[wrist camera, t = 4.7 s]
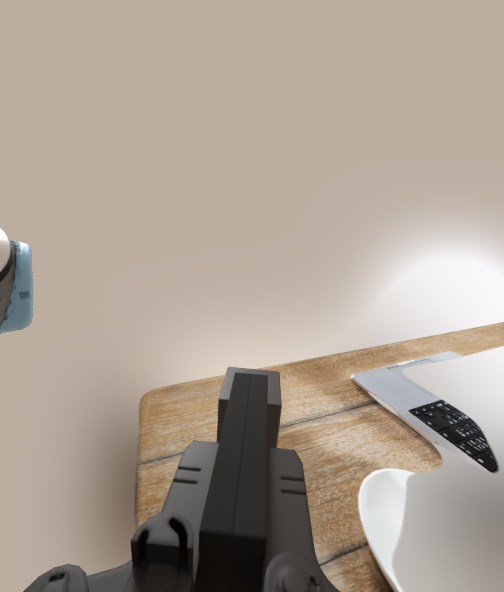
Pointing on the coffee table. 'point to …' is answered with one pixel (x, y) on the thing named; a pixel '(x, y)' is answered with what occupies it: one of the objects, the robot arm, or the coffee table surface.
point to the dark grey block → (273, 401)
